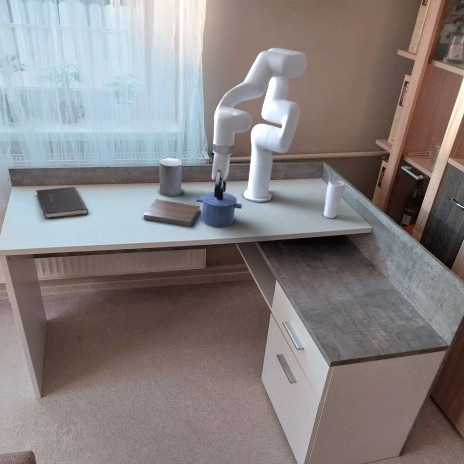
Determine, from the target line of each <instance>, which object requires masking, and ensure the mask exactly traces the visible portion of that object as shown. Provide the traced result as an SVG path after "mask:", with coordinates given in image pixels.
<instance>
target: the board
mask: <svg viewBox="0 0 464 464" xmlns="http://www.w3.org/2000/svg"><path fill="white" fill-rule="evenodd" d="M200 212H201V206H200V205H196V204H190V203H183V202H177V201H171V200H163V199H160V198H159V199H158V198H156V199H155V200H154V202H152V204H151V205H150V206H149V207H148V209H146V211H145V212H144V213H143V220H148V221H154V222H160V223H167V224H172V225H178V226H185V227H191V226H192V224H193V223H194V222H195V221H196V220H195V219H196V218H197V216H198V215H199V213H200Z"/></svg>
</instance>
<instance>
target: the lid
mask: <svg viewBox="0 0 464 464" xmlns="http://www.w3.org/2000/svg"><path fill="white" fill-rule="evenodd" d="M222 188H223V195H222V198H217V197H214V191H210V192H207V193H204V194H203V195H202V196H201V198H202V201H203V202H204V203H206V204H207V205H210V206H214V207H230V206H233V205H235V204H236V203H238V199H237V197H236V196H235V195H233V194H231V193H227V192H224V185H222Z"/></svg>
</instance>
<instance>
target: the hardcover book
mask: <svg viewBox="0 0 464 464" xmlns="http://www.w3.org/2000/svg"><path fill="white" fill-rule="evenodd" d="M35 192H36V196H37V199H38V202H39V205H40V208H41V210H42V213H43V215H44V217H45V219H46V220H47V219H57V218H64V217H65V218H66V217H72V216H73V217H74V216H82V215H88V214H89V209H88V208H87V206H86V204H85V202H84V200H83V198H82V197H81V195H80V193H79V191H78V190H77V187H75V186H69V187H67V186H66V187H56V188H45V189H36V190H35Z"/></svg>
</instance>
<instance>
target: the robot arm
mask: <svg viewBox="0 0 464 464" xmlns="http://www.w3.org/2000/svg"><path fill="white" fill-rule="evenodd" d="M307 67H308V58H307V56H306V54H305V53H303V52H302V51H297V50H292V49H287V48H280V47H271V48H269V49H268V50H262V51H261V52H260V53H259V54H258V55H257V57H256V58H255V61H254V62H253V64H252V66H251V68H250V70H249V71H248V73H247V75H246V77H245V79H244V80H243V82H241V83H238V84H237V85H235V86H234V87H233V88H231V89H230V90H228V91H227V92H226V93H225V94H224V95H223V96H222V99H221V100H220V101H219V104H218V105H217V107H216V110H215V112H214V125H213V143H212V153H213V154H214V156H213V161H212V162H213V163H212V173H211V180H212V181H214V180H215V183H214V191H213V192H214V197H217V198H222V195H223V188H222V185H224V193H226V190H227V177H228V175H229V171H230V160H231V156H232V155H233V154H234V146H235V145H234V143H235V134H240V133H241V134H242V133H245V132H247V131H249V130H250V128H251V127H252V125H253V117H252V115H251V114H250V113H249V112H247V111H245V110H242V109H238V108H234V107H235V106H237V105H238V104H240V103H242V102H246V101H250V100H251V101H252V100H255V99H259V98H261V97H262V96H264V94H265V91H266V89H267V91H266V95H265V98H264V101H263V105H262V110H261V117H262V119H263V120H265V121H266V122H269V123H273V124H277V125H279V126H280V125H281V126H282V127H278V126H276V125H270V124H266V123H258V124H256V125H255V126H254V127H253V128H252V130H251V133H250V142H251V154H250V166H249V176H248V184H247V189H246V190H245V191H244V192H243V197H244V198H245V199H246V200H248V201H252V202H258V203H265V202H268V201H270V200H271V199H272V193H271V192H270V185H271V178H272V170H273V169H272V168H273V162H274V157H273V153H272V152H274V153H279V154H286V153H287V152H288V151H289V150H290V148H291V146H292V143H293V139H294V136H295V134H296V129H297V126H298V123H299V120H300V115H301V114H300V113H301V109H300V105H299V104H298V103H297V102H295V101H291V100H288V99H287V98H288V94H289V91H290V82H289V80H291V79H295V78H299V77H301V76H302V75H303V74H304V73H305V71H306V70H307Z"/></svg>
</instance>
